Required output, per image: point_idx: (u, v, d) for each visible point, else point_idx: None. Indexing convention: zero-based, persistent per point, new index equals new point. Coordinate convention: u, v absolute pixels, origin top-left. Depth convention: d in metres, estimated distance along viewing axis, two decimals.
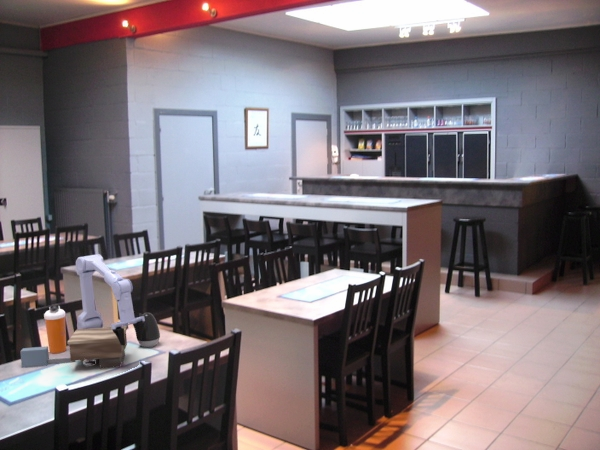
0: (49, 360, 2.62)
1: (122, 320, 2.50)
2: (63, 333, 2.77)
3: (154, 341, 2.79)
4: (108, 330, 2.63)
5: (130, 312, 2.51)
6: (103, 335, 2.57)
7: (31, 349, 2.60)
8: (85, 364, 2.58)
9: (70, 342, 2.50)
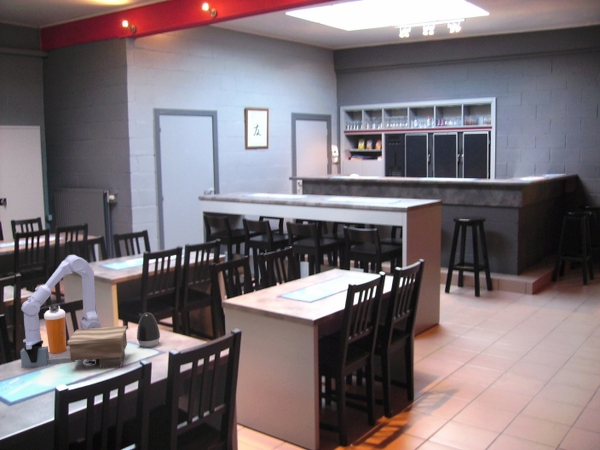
0: (49, 360, 2.62)
1: None
2: (63, 333, 2.77)
3: (154, 341, 2.79)
4: (108, 330, 2.63)
5: None
6: (103, 335, 2.57)
7: None
8: (85, 364, 2.58)
9: (70, 342, 2.50)
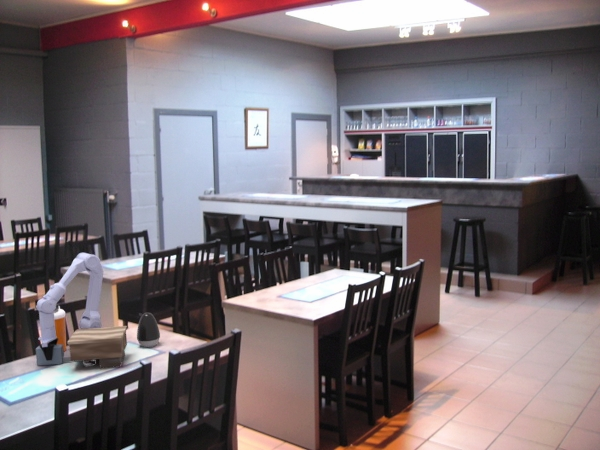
0: (64, 358, 2.63)
1: None
2: (63, 333, 2.77)
3: (154, 341, 2.79)
4: (108, 330, 2.63)
5: None
6: (103, 335, 2.57)
7: None
8: (85, 364, 2.58)
9: (70, 342, 2.50)
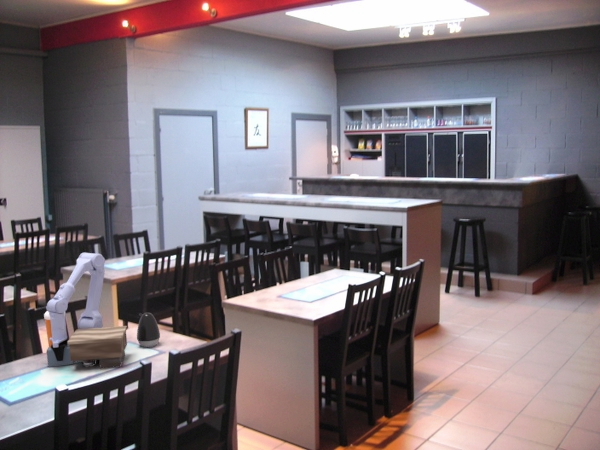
0: None
1: None
2: None
3: (154, 341, 2.79)
4: (108, 330, 2.63)
5: None
6: (103, 335, 2.57)
7: None
8: (85, 364, 2.58)
9: (70, 342, 2.50)
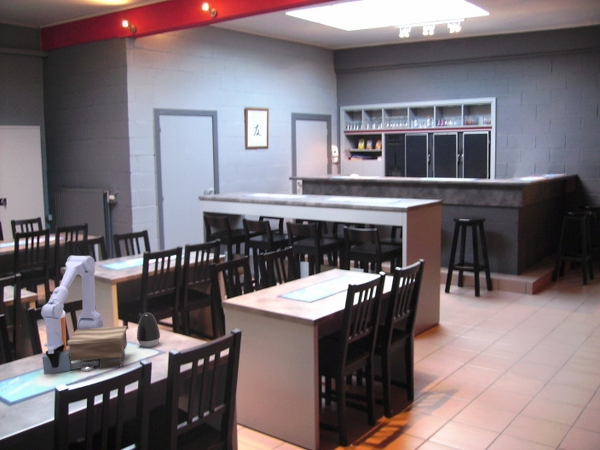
0: (72, 365, 2.54)
1: None
2: (63, 333, 2.77)
3: (154, 341, 2.79)
4: (108, 330, 2.63)
5: None
6: (103, 335, 2.57)
7: None
8: (83, 369, 2.51)
9: (70, 342, 2.50)
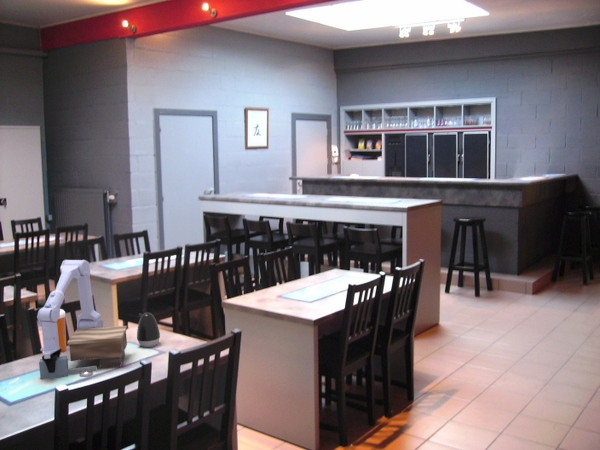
0: (69, 370, 2.49)
1: None
2: (63, 333, 2.77)
3: (154, 341, 2.79)
4: (108, 330, 2.63)
5: None
6: (103, 335, 2.57)
7: None
8: (83, 375, 2.46)
9: (70, 342, 2.50)
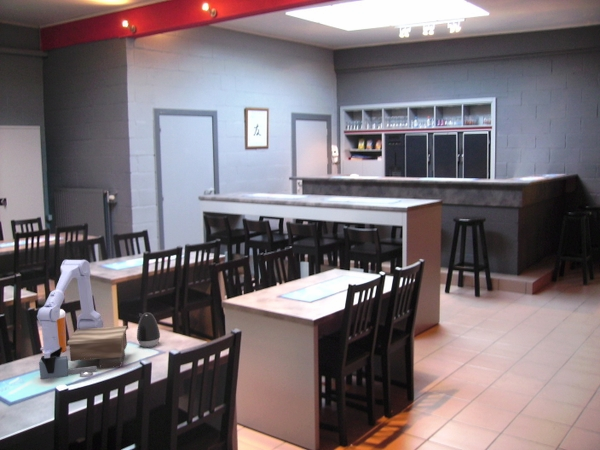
0: (69, 370, 2.49)
1: None
2: (63, 333, 2.77)
3: (154, 341, 2.79)
4: (108, 330, 2.63)
5: None
6: (103, 335, 2.57)
7: None
8: (83, 375, 2.45)
9: (70, 342, 2.50)
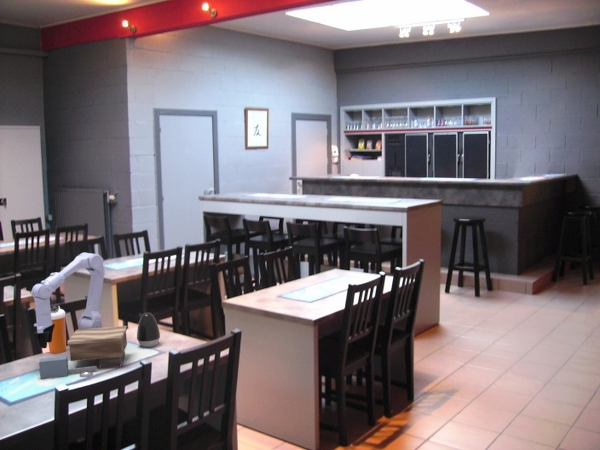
0: (69, 370, 2.49)
1: None
2: (63, 333, 2.77)
3: (154, 341, 2.79)
4: (108, 330, 2.63)
5: None
6: (103, 335, 2.57)
7: (50, 359, 2.46)
8: (83, 375, 2.45)
9: (70, 342, 2.50)
